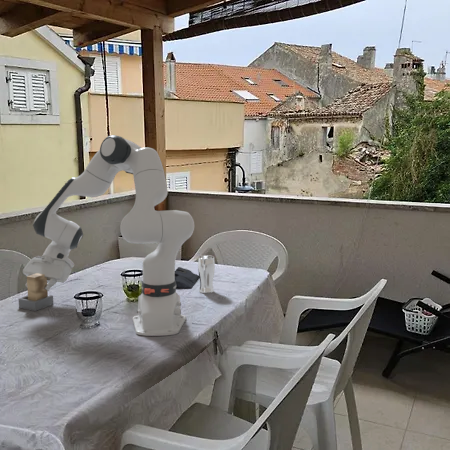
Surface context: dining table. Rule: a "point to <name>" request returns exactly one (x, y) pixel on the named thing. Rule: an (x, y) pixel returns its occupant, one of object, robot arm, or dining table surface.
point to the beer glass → (206, 273)
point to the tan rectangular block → (36, 286)
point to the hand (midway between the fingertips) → (36, 288)
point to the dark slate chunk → (185, 278)
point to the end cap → (35, 303)
